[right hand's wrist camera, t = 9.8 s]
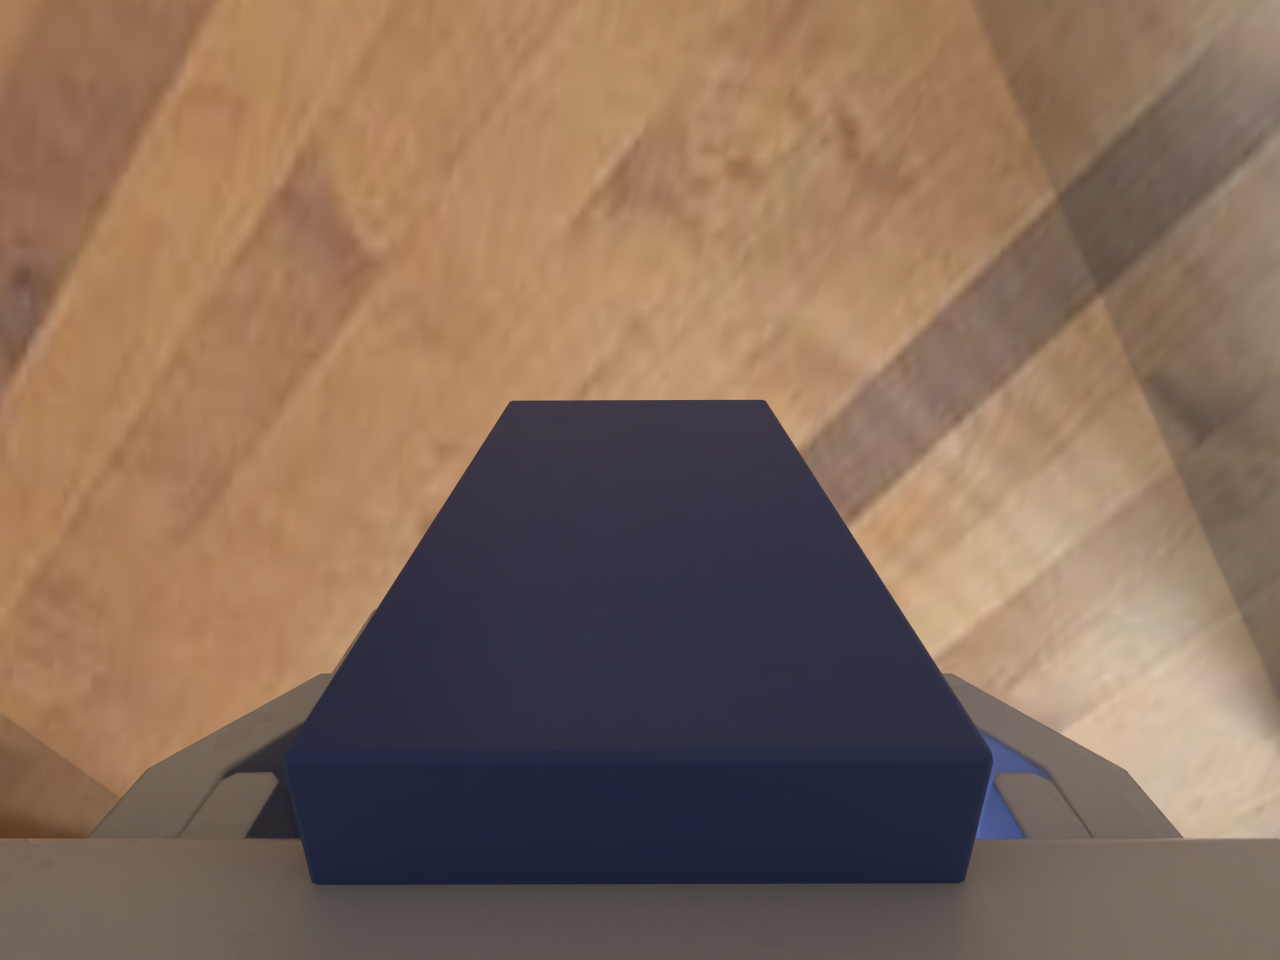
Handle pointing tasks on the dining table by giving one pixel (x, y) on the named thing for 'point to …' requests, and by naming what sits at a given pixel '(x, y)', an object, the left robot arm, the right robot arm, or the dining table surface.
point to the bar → (638, 678)
